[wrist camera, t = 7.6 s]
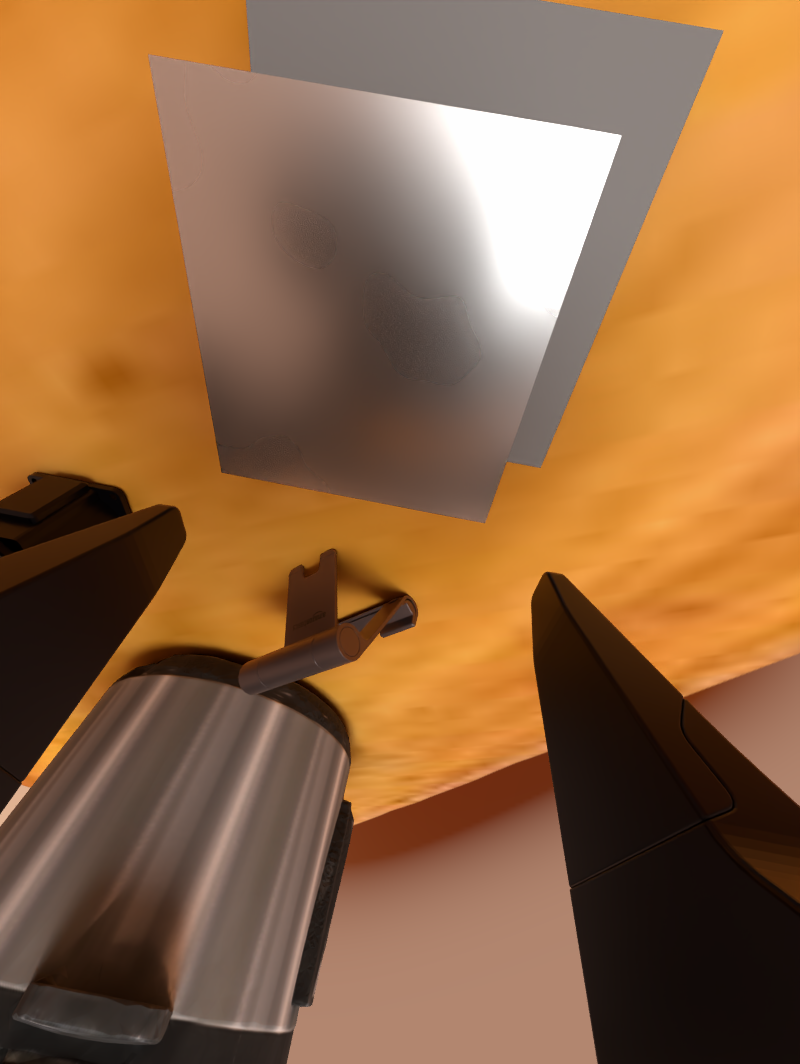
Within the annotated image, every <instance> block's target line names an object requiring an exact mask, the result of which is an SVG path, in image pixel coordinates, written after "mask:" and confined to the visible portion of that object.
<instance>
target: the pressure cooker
mask: <svg viewBox="0 0 800 1064" xmlns="http://www.w3.org/2000/svg"><path fill="white" fill-rule="evenodd" d="M242 666H243V665H240V664H237V663H234V662H230V661H227V660H224V659H220V658H217V657H211V656H201V655H173V656H172V657H169V658H167V659H164V660H162V661H161V662H159V663H158V664H155V663H153V664H150V665H147V666H142V667H138V668H135V669H134V670H132V671H130V672H129V673H128V674H126V675H124V676H122V677H121V678H120V679H118V680H117V681H116V682H115V683H113V685H112V686H111V687H110V688H109V689H108V690H107V691H106V693H105V694H104V695H103V696H102V698H101V699H100V700H99V702H98V703H97V704H96V706H95V707H94V708H93V709H92V711H91V712H90V713H89V715H88V716H87V717H86V718H85V720H84V721H83V722H82V724H81V725H80V726H79V727H78V729H77V730H76V731H75V732H74V734H73V735H72V736H71V737H70V739H69V740H68V741H67V742H66V744H65V745H64V746H63V747H62V749H61V750H60V751H59V752H58V754H57V755H56V756H55V758H54V759H53V760H52V761H51V763H50V764H49V765H48V766H47V768H46V769H45V770H44V772H43V773H42V774H41V775H40V777H39V778H38V779H37V781H36V782H35V783H34V784H33V786H32V787H31V788H30V789H29V791H28V792H27V793H26V795H25V796H24V797H23V798H22V800H21V801H20V802H19V804H18V805H17V806H16V807H15V809H14V810H13V811H12V812H11V814H10V815H9V816H8V818H7V819H6V820H5V822H4V823H3V824H2V825H1V826H0V1064H286V1063H287V1058H288V1054H289V1049H290V1045H291V1040H292V1035H293V1031H294V1028H295V1026H296V1021H297V1016H298V1011H299V1006H300V1007H308V1006H311V1005H312V1003H313V998H314V994H315V990H316V985H317V980H318V976H319V971H320V967H321V962H322V958H323V954H324V950H325V946H326V942H327V938H328V932H329V928H330V924H331V919H332V915H333V911H334V907H335V902H336V898H337V893H338V890H339V886H340V882H341V877H342V873H343V869H344V865H345V861H346V857H347V852H348V847H349V844H350V838H351V833H352V829H353V824H354V819H353V815H352V812H351V802H348V801H346V800H343V797H344V792H345V787H346V783H347V779H348V774H349V769H350V764H351V756H350V743H349V738H348V735H347V732H346V730H345V726H344V724H343V723H342V721H341V720H340V718H339V717H338V715H337V714H336V713H335V712H334V711H333V710H332V709H331V708H330V707H329V706H328V705H327V704H326V703H325V702H324V701H322V700H321V699H320V698H319V697H317V696H316V695H315V694H314V693H311V692H310V691H309V690H307V689H305V688H304V687H302V686H300V685H299V684H296V683H293V682H291V683H288V684H285V685H282V686H279V687H276V688H273V689H271V690H268V691H265V692H262V693H259V694H256V695H249V694H247V693H245V692H244V691H243V690H242V689H241V687H240V684H239V678H238V677H239V672H240V669H241V668H242Z"/></svg>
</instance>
